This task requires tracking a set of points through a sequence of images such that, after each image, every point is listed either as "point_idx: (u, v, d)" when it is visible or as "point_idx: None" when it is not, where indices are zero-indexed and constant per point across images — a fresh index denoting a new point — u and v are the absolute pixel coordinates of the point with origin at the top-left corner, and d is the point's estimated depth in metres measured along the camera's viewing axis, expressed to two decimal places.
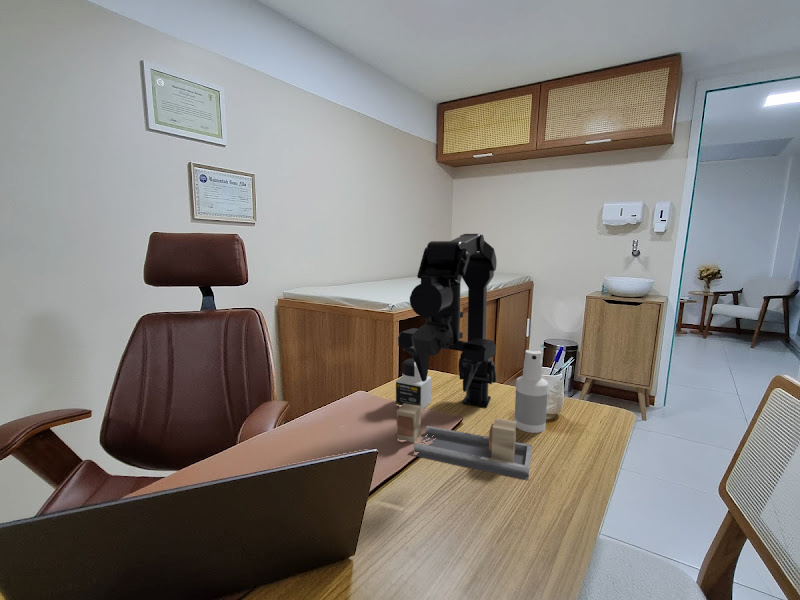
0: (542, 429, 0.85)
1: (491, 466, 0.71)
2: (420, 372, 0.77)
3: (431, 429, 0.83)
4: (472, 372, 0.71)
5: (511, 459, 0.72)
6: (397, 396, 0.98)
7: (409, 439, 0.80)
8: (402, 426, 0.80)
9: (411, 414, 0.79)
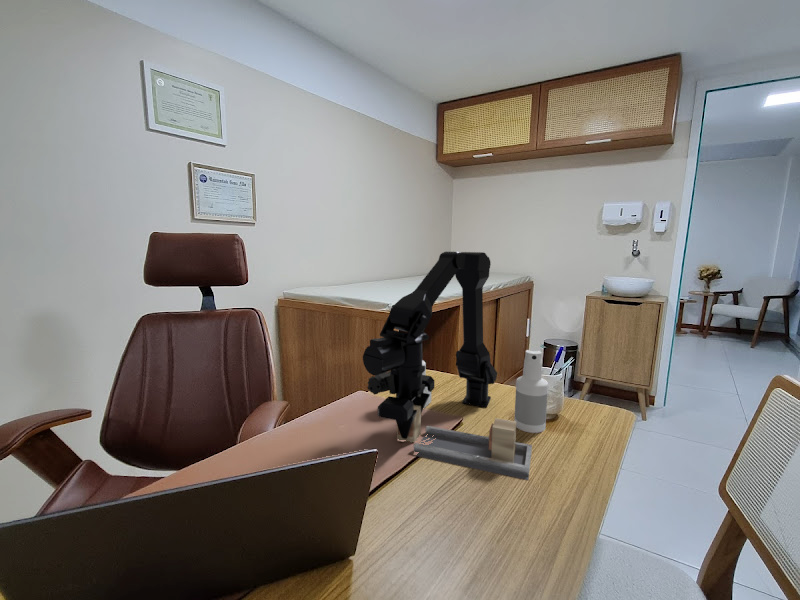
0: (542, 429, 0.85)
1: (491, 466, 0.71)
2: None
3: (431, 429, 0.83)
4: (404, 424, 0.78)
5: (511, 459, 0.72)
6: None
7: (409, 439, 0.80)
8: None
9: None
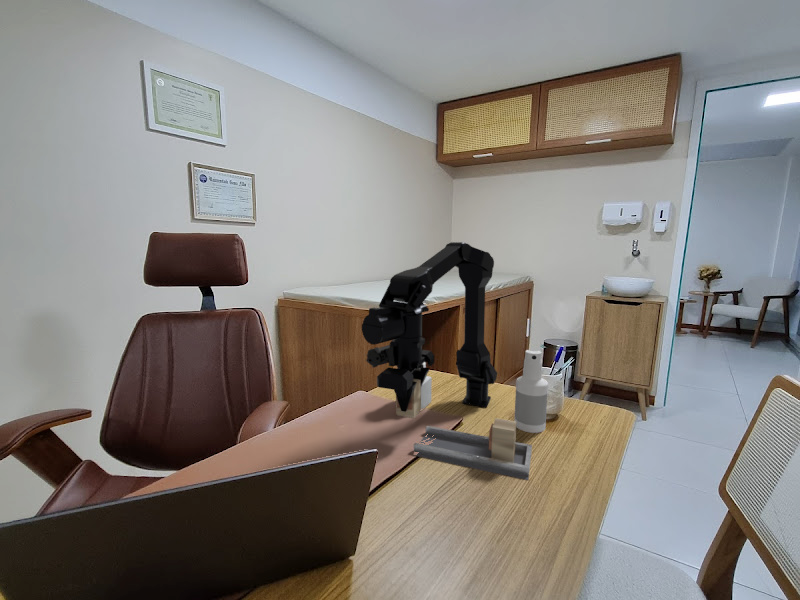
0: (542, 429, 0.85)
1: (491, 466, 0.71)
2: None
3: (431, 429, 0.83)
4: (403, 396, 0.77)
5: (511, 459, 0.72)
6: None
7: (409, 412, 0.79)
8: None
9: None
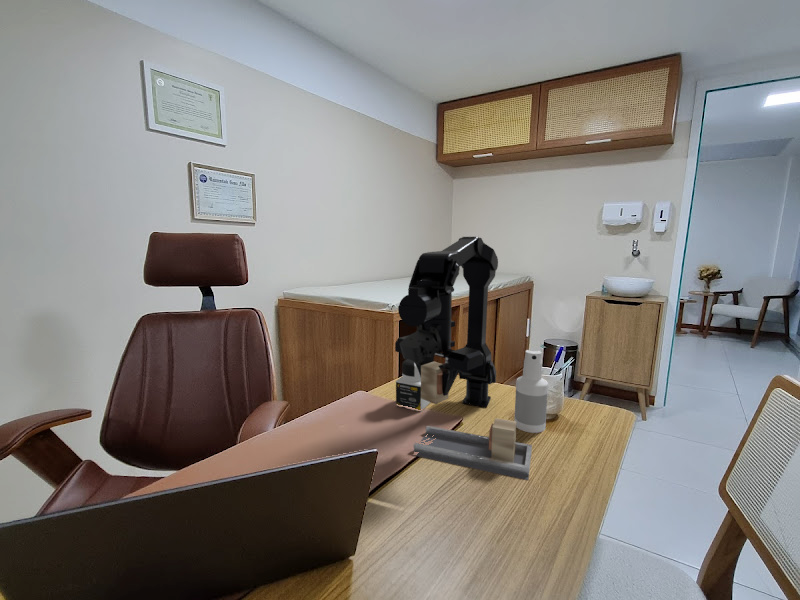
0: (542, 429, 0.85)
1: (491, 466, 0.71)
2: None
3: (431, 429, 0.83)
4: (451, 377, 0.75)
5: (511, 459, 0.72)
6: (397, 396, 0.98)
7: None
8: None
9: None
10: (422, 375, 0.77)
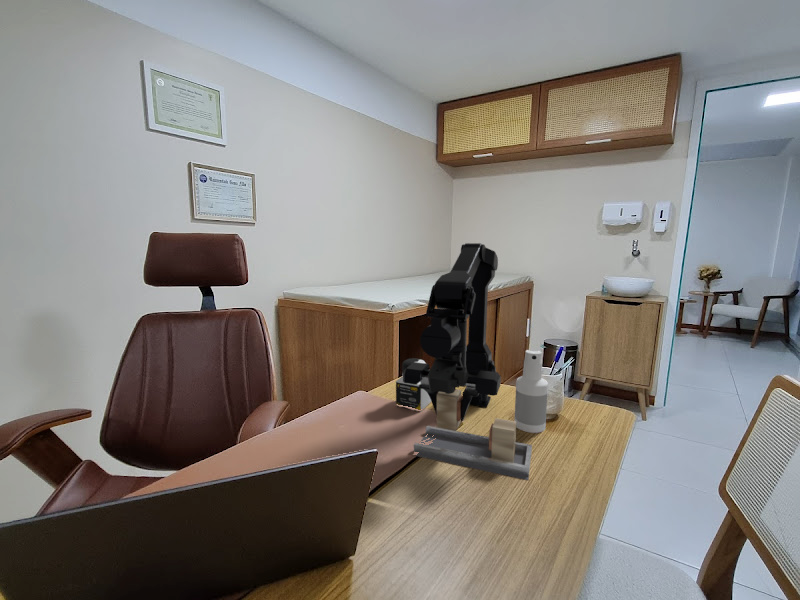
0: (542, 429, 0.85)
1: (491, 466, 0.71)
2: (435, 408, 0.77)
3: (431, 429, 0.83)
4: None
5: (511, 459, 0.72)
6: (397, 396, 0.98)
7: None
8: None
9: (460, 392, 0.77)
10: (438, 404, 0.76)
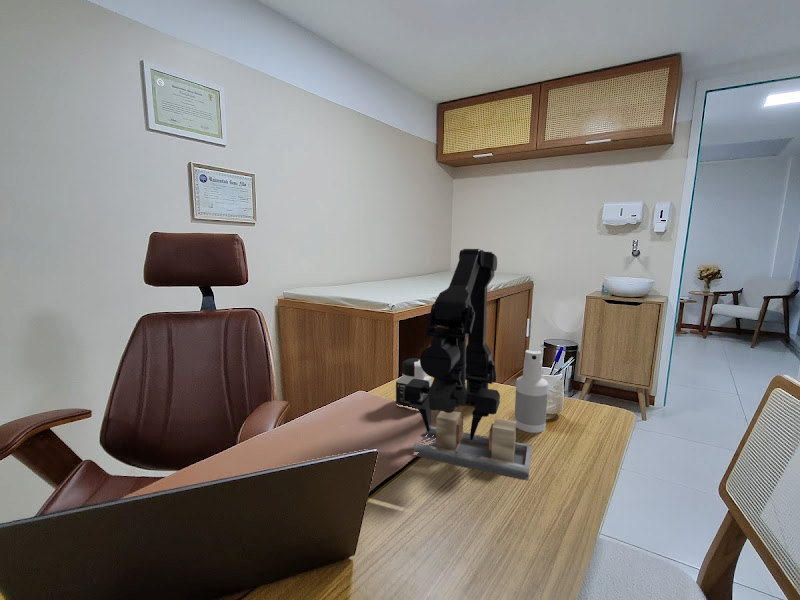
0: (542, 429, 0.85)
1: (491, 466, 0.71)
2: (426, 423, 0.78)
3: (431, 429, 0.83)
4: None
5: (511, 459, 0.72)
6: (397, 396, 0.98)
7: None
8: (460, 432, 0.76)
9: (460, 415, 0.78)
10: (438, 426, 0.76)
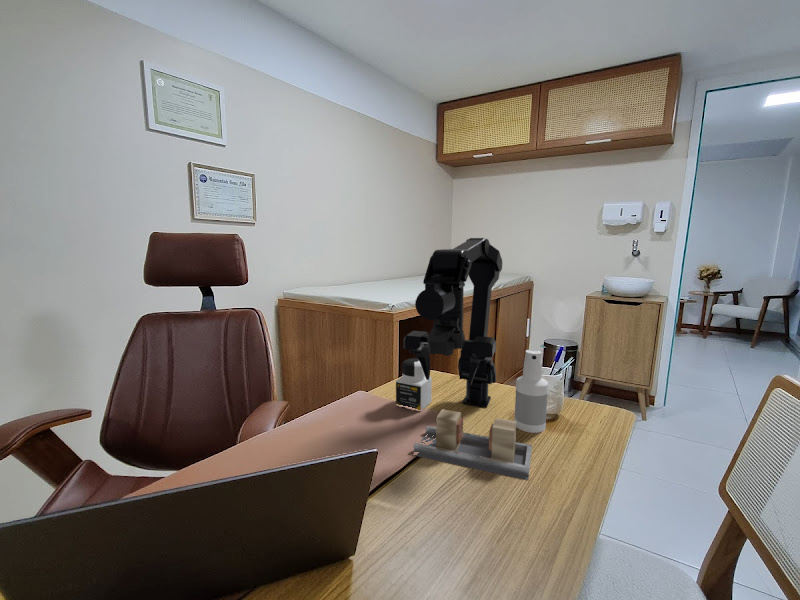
0: (542, 429, 0.85)
1: (491, 466, 0.71)
2: (425, 371, 0.82)
3: (431, 429, 0.83)
4: None
5: (511, 459, 0.72)
6: (397, 396, 0.98)
7: None
8: (460, 432, 0.76)
9: (460, 415, 0.78)
10: (438, 426, 0.76)
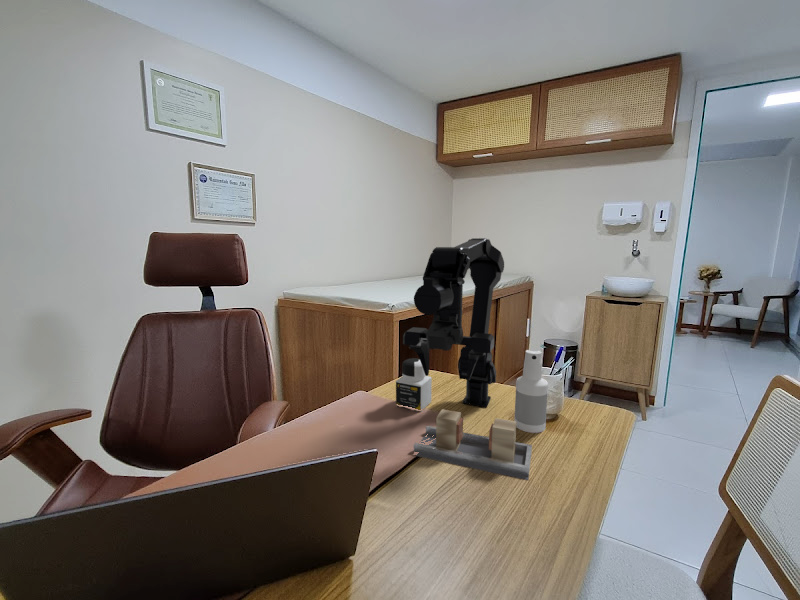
0: (542, 429, 0.85)
1: (491, 466, 0.71)
2: (424, 367, 0.83)
3: (431, 429, 0.83)
4: (474, 363, 0.80)
5: (511, 459, 0.72)
6: (397, 396, 0.98)
7: None
8: (460, 432, 0.76)
9: (460, 415, 0.78)
10: (438, 426, 0.76)
